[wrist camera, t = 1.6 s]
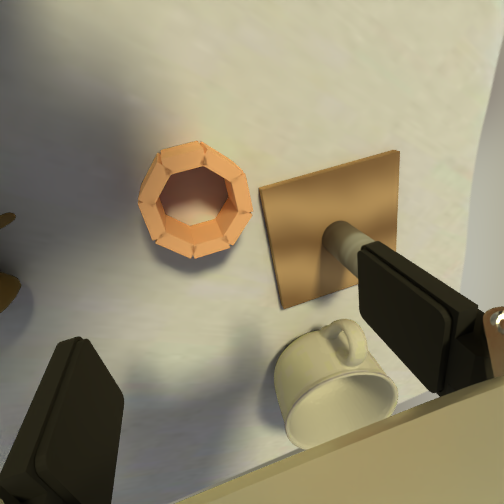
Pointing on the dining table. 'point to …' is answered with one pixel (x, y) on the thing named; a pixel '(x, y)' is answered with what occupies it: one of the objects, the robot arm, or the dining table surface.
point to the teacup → (331, 385)
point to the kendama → (4, 285)
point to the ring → (203, 234)
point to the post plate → (329, 224)
